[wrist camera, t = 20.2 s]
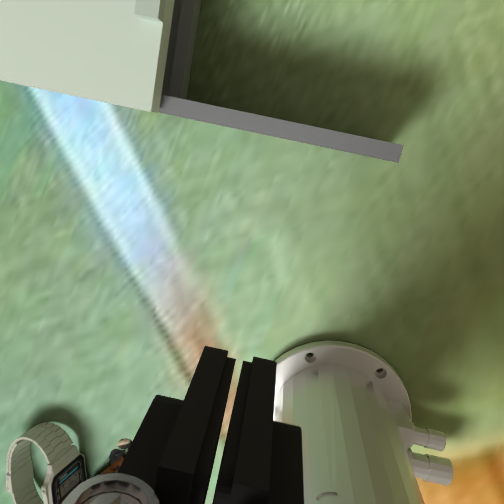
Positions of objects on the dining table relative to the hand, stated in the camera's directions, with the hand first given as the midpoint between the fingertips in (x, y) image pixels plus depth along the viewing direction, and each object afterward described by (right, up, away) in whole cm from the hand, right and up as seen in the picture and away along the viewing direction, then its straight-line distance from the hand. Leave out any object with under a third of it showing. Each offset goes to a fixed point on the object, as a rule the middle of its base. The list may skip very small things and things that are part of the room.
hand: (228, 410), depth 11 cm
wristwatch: (-17, -15, +32) cm, 39 cm away
